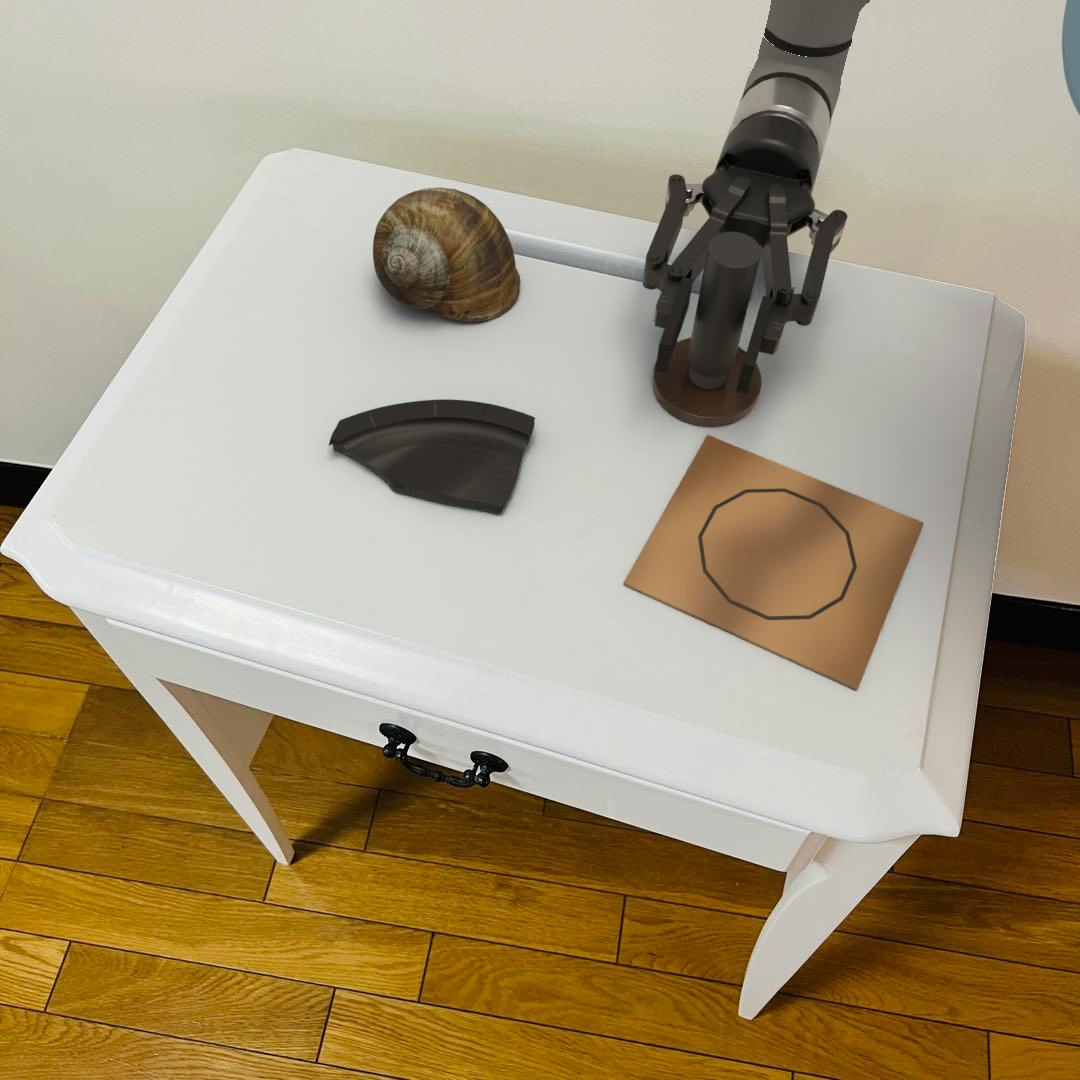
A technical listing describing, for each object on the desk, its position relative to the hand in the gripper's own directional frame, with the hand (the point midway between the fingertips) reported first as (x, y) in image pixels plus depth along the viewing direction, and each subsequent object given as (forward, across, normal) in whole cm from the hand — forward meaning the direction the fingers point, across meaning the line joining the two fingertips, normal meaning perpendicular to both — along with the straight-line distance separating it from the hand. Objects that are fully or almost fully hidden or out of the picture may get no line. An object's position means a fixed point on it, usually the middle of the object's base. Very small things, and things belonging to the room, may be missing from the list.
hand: (703, 368), depth 69 cm
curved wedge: (+7, +16, -8) cm, 19 cm away
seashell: (-9, +22, -8) cm, 25 cm away
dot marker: (-5, 0, -6) cm, 8 cm away
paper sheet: (+8, -8, -7) cm, 13 cm away
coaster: (-5, 0, -7) cm, 9 cm away
